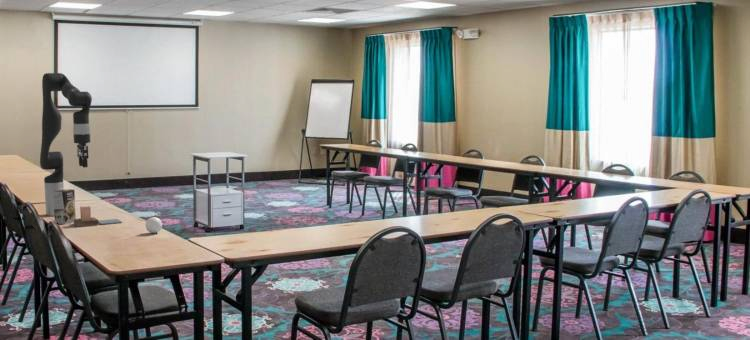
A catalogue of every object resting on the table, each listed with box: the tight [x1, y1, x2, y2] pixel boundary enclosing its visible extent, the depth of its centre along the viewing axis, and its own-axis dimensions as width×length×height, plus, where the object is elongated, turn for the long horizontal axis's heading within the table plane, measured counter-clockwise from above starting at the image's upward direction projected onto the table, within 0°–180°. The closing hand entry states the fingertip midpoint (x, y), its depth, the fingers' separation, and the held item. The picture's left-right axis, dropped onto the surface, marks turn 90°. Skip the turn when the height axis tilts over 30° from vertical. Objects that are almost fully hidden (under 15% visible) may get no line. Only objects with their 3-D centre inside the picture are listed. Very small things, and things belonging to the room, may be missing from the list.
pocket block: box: [73, 216, 99, 228], centre depth 389 cm, size 10×10×2 cm
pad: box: [98, 218, 123, 226], centre depth 394 cm, size 10×10×1 cm
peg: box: [79, 205, 92, 221], centre depth 388 cm, size 4×4×9 cm
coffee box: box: [53, 189, 77, 225], centre depth 394 cm, size 9×6×16 cm
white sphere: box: [145, 217, 163, 234], centre depth 365 cm, size 10×7×7 cm
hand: (83, 166), depth 386 cm, fingers open, 8 cm apart
